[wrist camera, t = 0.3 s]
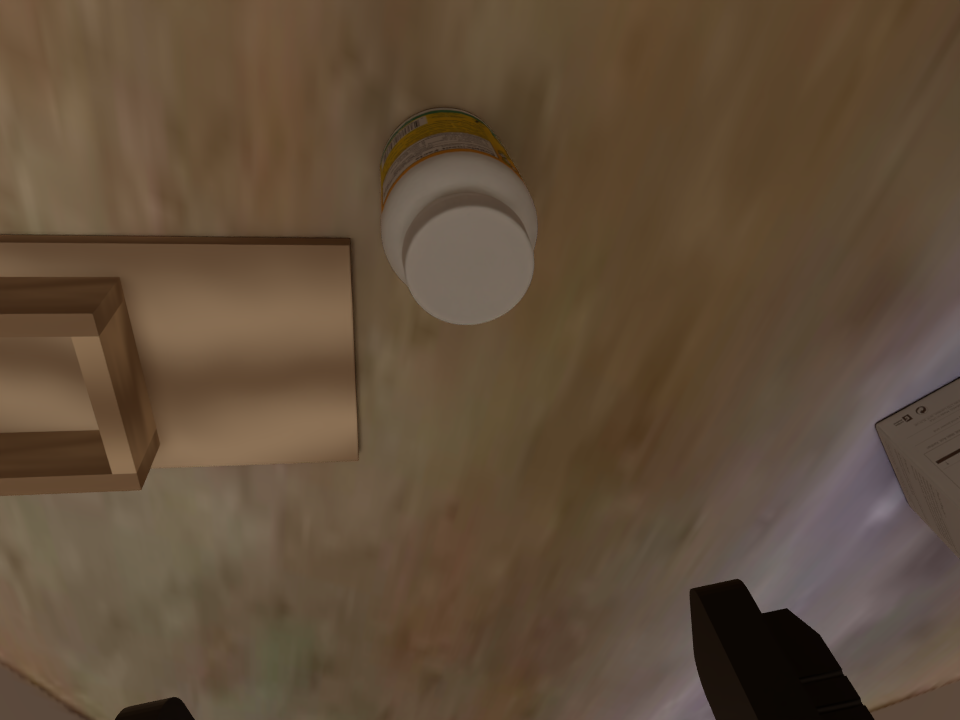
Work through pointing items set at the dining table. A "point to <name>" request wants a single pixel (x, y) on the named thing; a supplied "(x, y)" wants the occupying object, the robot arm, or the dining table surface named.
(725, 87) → the dining table surface
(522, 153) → the dining table surface
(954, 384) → the supplement box
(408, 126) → the supplement bottle
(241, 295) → the wooden stand
